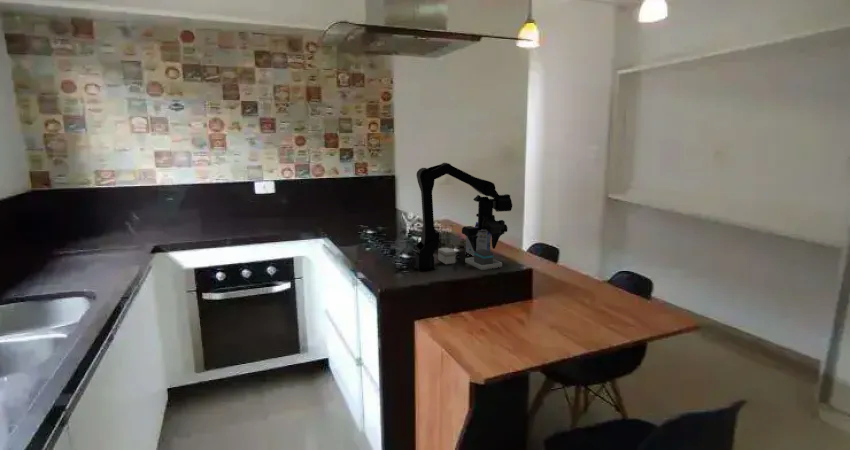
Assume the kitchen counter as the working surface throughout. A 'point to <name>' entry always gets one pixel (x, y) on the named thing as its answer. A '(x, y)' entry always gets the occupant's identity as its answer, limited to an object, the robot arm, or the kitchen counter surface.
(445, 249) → the block
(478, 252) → the block
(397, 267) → the kitchen counter surface
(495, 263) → the tray
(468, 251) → the ink cartridge box
